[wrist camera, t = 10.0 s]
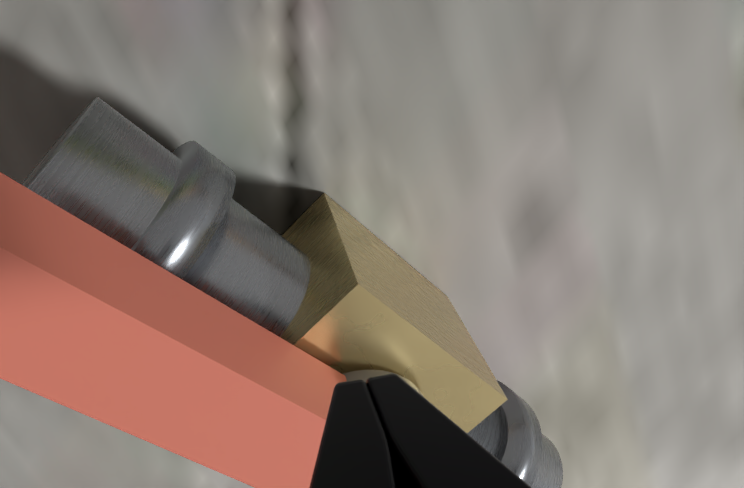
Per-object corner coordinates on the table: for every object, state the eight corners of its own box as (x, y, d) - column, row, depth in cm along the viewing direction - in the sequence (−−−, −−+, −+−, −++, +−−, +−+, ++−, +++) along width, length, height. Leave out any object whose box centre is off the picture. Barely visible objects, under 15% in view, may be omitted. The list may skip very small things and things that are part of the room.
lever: (455, 409, 17) (498, 500, 15) (360, 495, 18) (384, 596, 16) (-214, -12, 10) (-379, 21, 7) (-323, 174, 10) (-507, 266, 8)
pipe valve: (546, 379, 26) (618, 484, 21) (436, 471, 27) (481, 589, 22) (141, 38, 16) (111, 93, 12) (0, 205, 18) (-79, 316, 13)
